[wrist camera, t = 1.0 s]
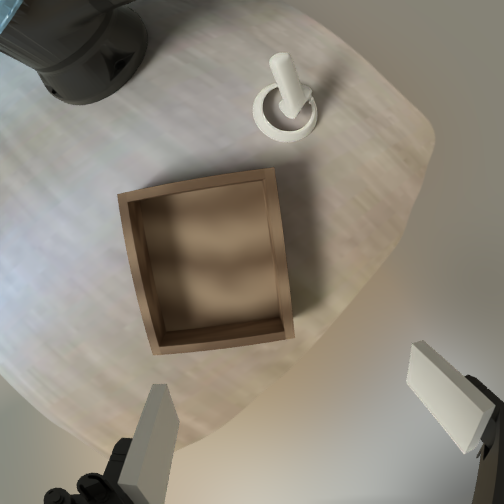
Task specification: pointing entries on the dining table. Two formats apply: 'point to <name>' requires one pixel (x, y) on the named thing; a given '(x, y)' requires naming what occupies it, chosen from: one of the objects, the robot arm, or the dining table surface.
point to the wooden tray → (209, 262)
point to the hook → (285, 100)
